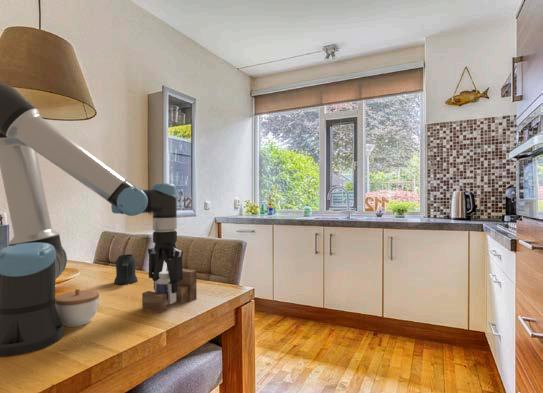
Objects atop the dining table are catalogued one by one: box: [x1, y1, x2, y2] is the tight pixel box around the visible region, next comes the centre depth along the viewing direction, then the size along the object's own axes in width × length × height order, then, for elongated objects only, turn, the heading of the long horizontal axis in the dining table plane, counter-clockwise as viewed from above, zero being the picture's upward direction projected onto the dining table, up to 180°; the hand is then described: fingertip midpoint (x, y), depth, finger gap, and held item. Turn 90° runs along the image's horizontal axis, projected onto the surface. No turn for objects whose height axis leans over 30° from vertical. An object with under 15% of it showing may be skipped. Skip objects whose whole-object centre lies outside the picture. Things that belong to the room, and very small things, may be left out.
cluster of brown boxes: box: [141, 268, 198, 314], centre depth 105 cm, size 15×10×10 cm, turn 153°
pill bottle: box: [157, 270, 170, 305], centre depth 104 cm, size 5×5×10 cm
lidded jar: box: [55, 288, 100, 328], centre depth 89 cm, size 11×11×9 cm
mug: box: [113, 253, 138, 286], centre depth 132 cm, size 12×9×11 cm
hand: (165, 301), depth 104 cm, fingers closed on pill bottle, 5 cm apart
